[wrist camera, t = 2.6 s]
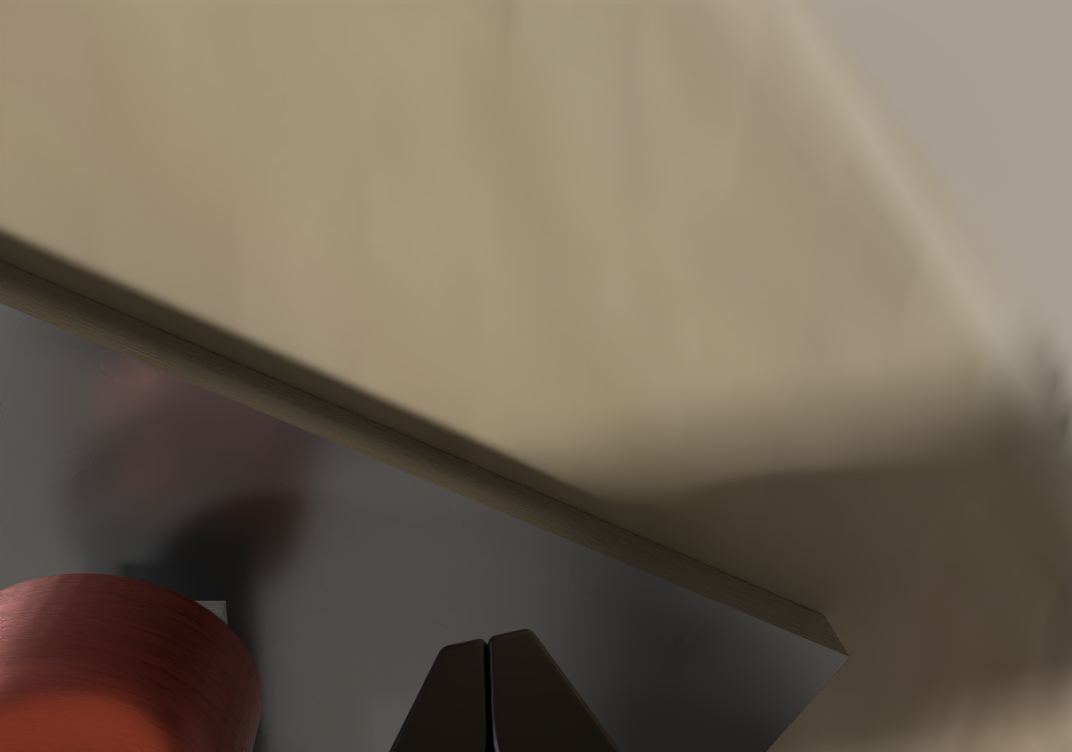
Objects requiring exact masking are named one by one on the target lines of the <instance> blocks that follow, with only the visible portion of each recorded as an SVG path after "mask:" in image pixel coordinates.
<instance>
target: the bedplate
mask: <svg viewBox="0 0 1072 752" xmlns="http://www.w3.org/2000/svg"><path fill="white" fill-rule="evenodd" d="M76 573H94V574H110V575H117V576H123V577H130V578H134V579H138V580H142V581H146V582H150V583H154V584H157V585H159V586H162V587H165V588H168V589H171V590H173V591H176V592H178V593H180V594H182V595H184V596H186V597H188V598H190V599H192V600H194V601H226V611H227V623H228V626H229V627H230V628H231V629H232V630H233V631H234V632H235V633H236V634H237V635H238V636H239V638H240V639H241V640H242V642H243V643H244V644H245V646H246V647H247V648H248V650H249V652H250V654H251V656H252V657H253V659H254V661H255V663H256V666H257V669H258V672H259V675H260V678H261V684H262V690H263V705H262V711H261V716H260V721H259V725H258V729H257V734H256V738H255V742H254V746H253V751H252V752H389V751H390V749H391V747H392V745H393V743H394V741H395V739H396V737H397V735H398V733H399V731H400V729H401V727H402V725H403V723H404V721H405V719H406V717H407V715H408V713H409V711H410V709H411V707H412V705H413V703H414V701H415V699H416V697H417V695H418V693H419V691H420V689H421V687H422V685H423V683H424V681H425V679H426V677H427V675H428V673H429V671H430V669H431V667H432V665H433V663H434V661H435V659H436V657H437V655H438V653H439V651H440V650H441V649H442V648H443V647H445V646H447V645H451V644H456V643H460V642H465V641H470V640H474V639H482V640H484V641H485V642H486V643H487V644H488V641H489V639H490V638H491V637H492V636H494V635H498V634H503V633H507V632H512V631H517V630H521V629H529V630H531V631H532V632H534V633H535V635H536V636H537V637H538V638H539V640H540V641H541V643H542V644H543V645H544V647H545V648H546V649H547V651H548V652H549V653H550V655H551V656H552V658H553V659H554V660H555V662H556V663H557V664H558V666H559V667H560V668H561V670H562V671H563V673H564V674H565V675H566V677H567V678H568V679H569V681H570V682H571V683H572V685H573V686H574V687H575V689H576V690H577V692H578V693H579V694H580V696H581V697H582V698H583V700H584V701H585V702H586V704H587V705H588V707H589V708H590V709H591V711H592V712H593V713H594V715H595V716H596V717H597V719H598V720H599V721H600V723H601V724H602V726H603V727H604V728H605V730H606V731H607V732H608V734H609V735H610V736H611V738H612V739H613V741H614V742H615V743H616V745H617V746H618V747H619V749H620V750H621V751H622V752H766V751H767V750H768V749H769V748H770V746H771V745H772V744H773V743H774V742H775V741H776V740H777V739H778V737H779V736H780V735H781V734H782V733H783V732H784V731H785V730H786V728H787V727H788V726H789V725H790V724H791V723H792V722H793V721H794V719H795V718H796V717H797V716H798V715H799V714H800V713H801V711H802V710H803V709H804V708H805V707H806V706H807V705H808V704H809V702H810V701H811V700H812V699H813V698H814V697H815V696H816V695H817V693H818V692H819V691H820V690H821V689H822V688H823V687H824V686H825V684H826V683H827V682H828V681H829V680H830V679H831V678H832V677H833V675H834V674H835V673H836V672H837V671H838V670H839V669H840V668H841V666H842V665H843V664H844V663H845V662H846V661H847V660H848V659H849V657H850V656H849V655H848V653H847V652H846V650H845V648H844V647H843V645H842V643H841V642H840V640H839V639H838V637H837V635H836V634H835V632H834V631H833V629H832V627H831V626H830V624H829V622H828V621H827V619H826V618H825V616H823V615H820V614H818V613H816V612H813V611H811V610H809V609H806V608H804V607H802V606H799V605H797V604H795V603H792V602H790V601H788V600H785V599H783V598H781V597H778V596H776V595H774V594H771V593H769V592H767V591H765V590H762V589H760V588H758V587H755V586H753V585H751V584H748V583H746V582H744V581H741V580H739V579H737V578H734V577H732V576H730V575H727V574H725V573H723V572H720V571H718V570H716V569H713V568H711V567H709V566H706V565H704V564H702V563H700V562H697V561H695V560H693V559H690V558H688V557H686V556H683V555H681V554H679V553H676V552H674V551H672V550H669V549H667V548H665V547H662V546H660V545H658V544H655V543H653V542H651V541H648V540H646V539H644V538H642V537H639V536H637V535H635V534H632V533H630V532H628V531H625V530H623V529H621V528H618V527H616V526H614V525H611V524H609V523H607V522H604V521H602V520H600V519H597V518H595V517H593V516H590V515H588V514H586V513H583V512H581V511H579V510H577V509H574V508H572V507H570V506H567V505H565V504H563V503H560V502H558V501H556V500H553V499H551V498H549V497H546V496H544V495H542V494H539V493H537V492H535V491H532V490H530V489H528V488H525V487H523V486H521V485H519V484H516V483H514V482H512V481H509V480H507V479H505V478H502V477H500V476H498V475H495V474H493V473H491V472H488V471H486V470H484V469H481V468H479V467H477V466H474V465H472V464H470V463H467V462H465V461H463V460H460V459H458V458H456V457H454V456H451V455H449V454H447V453H444V452H442V451H440V450H437V449H435V448H433V447H430V446H428V445H426V444H423V443H421V442H419V441H416V440H414V439H412V438H409V437H407V436H405V435H402V434H400V433H398V432H396V431H393V430H391V429H389V428H386V427H384V426H382V425H379V424H377V423H375V422H372V421H370V420H368V419H365V418H363V417H361V416H358V415H356V414H354V413H351V412H349V411H347V410H344V409H342V408H340V407H338V406H335V405H333V404H331V403H328V402H326V401H324V400H321V399H319V398H317V397H314V396H312V395H310V394H307V393H305V392H303V391H300V390H298V389H296V388H293V387H291V386H289V385H286V384H284V383H282V382H279V381H277V380H275V379H273V378H270V377H268V376H266V375H263V374H261V373H259V372H256V371H254V370H252V369H249V368H247V367H245V366H242V365H240V364H238V363H235V362H233V361H231V360H228V359H226V358H224V357H221V356H219V355H217V354H215V353H212V352H210V351H208V350H205V349H203V348H201V347H198V346H196V345H194V344H191V343H189V342H187V341H184V340H182V339H180V338H177V337H175V336H173V335H170V334H168V333H166V332H163V331H161V330H159V329H156V328H154V327H152V326H150V325H147V324H145V323H143V322H140V321H138V320H136V319H133V318H131V317H129V316H126V315H124V314H122V313H119V312H117V311H115V310H112V309H110V308H108V307H105V306H103V305H101V304H98V303H96V302H94V301H92V300H89V299H87V298H85V297H82V296H80V295H78V294H75V293H73V292H71V291H68V290H66V289H64V288H61V287H59V286H57V285H54V284H52V283H50V282H47V281H45V280H43V279H40V278H38V277H36V276H33V275H31V274H29V273H27V272H24V271H22V270H20V269H17V268H15V267H13V266H10V265H8V264H6V263H3V262H1V261H0V591H1V590H3V589H6V588H8V587H11V586H13V585H16V584H18V583H22V582H25V581H29V580H33V579H37V578H40V577H47V576H53V575H60V574H76Z"/></svg>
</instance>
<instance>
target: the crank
mask: <svg viewBox="0 0 1072 752" xmlns="http://www.w3.org/2000/svg"><path fill="white" fill-rule="evenodd" d="M262 705H263V690H262V684H261V678H260V675H259V672H258V669H257V666H256V663H255V661H254V659H253V657H252V656H251V654H250V652H249V650H248V648H247V647H246V646H245V644H244V643H243V642H242V640H241V639H240V638H239V636H238V635H237V634H236V633H235V632H234V631H233V630H232V629H231V628H230V627H229V626H228V623H227V611H226V601H194V600H192V599H190V598H188V597H186V596H184V595H182V594H180V593H178V592H176V591H173V590H171V589H168V588H165V587H162V586H159V585H157V584H154V583H150V582H146V581H142V580H138V579H134V578H130V577H123V576H117V575H110V574H94V573H76V574H60V575H53V576H47V577H40V578H37V579H33V580H29V581H25V582H22V583H18V584H16V585H13V586H11V587H8V588H6V589H3V590H1V591H0V752H252V751H253V746H254V742H255V738H256V734H257V729H258V725H259V721H260V716H261V711H262Z"/></svg>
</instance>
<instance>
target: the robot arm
mask: <svg viewBox="0 0 1072 752" xmlns="http://www.w3.org/2000/svg"><path fill="white" fill-rule="evenodd" d="M389 752H622V751H621V750H620V749H619V747H618V746H617V745H616V743H615V742H614V741H613V739H612V738H611V736H610V735H609V734H608V732H607V731H606V730H605V728H604V727H603V726H602V724H601V723H600V721H599V720H598V719H597V717H596V716H595V715H594V713H593V712H592V711H591V709H590V708H589V707H588V705H587V704H586V702H585V701H584V700H583V698H582V697H581V696H580V694H579V693H578V692H577V690H576V689H575V687H574V686H573V685H572V683H571V682H570V681H569V679H568V678H567V677H566V675H565V674H564V673H563V671H562V670H561V668H560V667H559V666H558V664H557V663H556V662H555V660H554V659H553V658H552V656H551V655H550V653H549V652H548V651H547V649H546V648H545V647H544V645H543V644H542V643H541V641H540V640H539V638H538V637H537V636H536V635H535V633H534V632H532V631H531V630H529V629H521V630H517V631H512V632H507V633H503V634H498V635H494V636H492V637H491V638H490V639H489V641H488V644H487V643H486V642H485V641H484V640H482V639H474V640H470V641H465V642H460V643H456V644H451V645H447V646H445V647H443V648H442V649H441V650H440V651H439V653H438V655H437V657H436V659H435V661H434V663H433V665H432V667H431V669H430V671H429V673H428V675H427V677H426V679H425V681H424V683H423V685H422V687H421V689H420V691H419V693H418V695H417V697H416V699H415V701H414V703H413V705H412V707H411V709H410V711H409V713H408V715H407V717H406V719H405V721H404V723H403V725H402V727H401V729H400V731H399V733H398V735H397V737H396V739H395V741H394V743H393V745H392V747H391V749H390V751H389Z"/></svg>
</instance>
